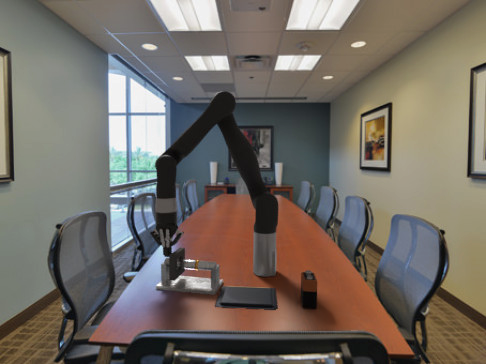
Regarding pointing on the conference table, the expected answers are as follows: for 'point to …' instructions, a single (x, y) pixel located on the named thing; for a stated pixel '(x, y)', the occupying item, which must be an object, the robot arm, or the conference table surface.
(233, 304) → the wallet
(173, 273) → the dark grey wedge plate
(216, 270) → the pipe stand
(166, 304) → the conference table surface
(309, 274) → the battery
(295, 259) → the conference table surface
